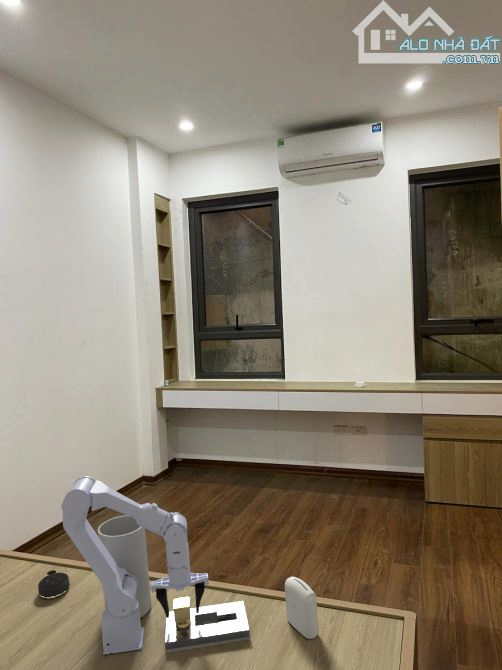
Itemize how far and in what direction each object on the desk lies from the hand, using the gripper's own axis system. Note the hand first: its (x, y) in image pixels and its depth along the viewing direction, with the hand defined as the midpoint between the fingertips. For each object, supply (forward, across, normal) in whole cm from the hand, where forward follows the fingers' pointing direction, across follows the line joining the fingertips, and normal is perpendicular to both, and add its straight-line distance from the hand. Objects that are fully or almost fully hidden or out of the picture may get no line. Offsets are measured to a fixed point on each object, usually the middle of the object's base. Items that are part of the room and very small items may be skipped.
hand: (182, 613), depth 127 cm
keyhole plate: (+6, +6, 0) cm, 8 cm away
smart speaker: (+6, -40, +28) cm, 49 cm away
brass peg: (+3, 0, 0) cm, 3 cm away
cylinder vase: (+6, -16, +14) cm, 21 cm away
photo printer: (+6, +30, -4) cm, 31 cm away
